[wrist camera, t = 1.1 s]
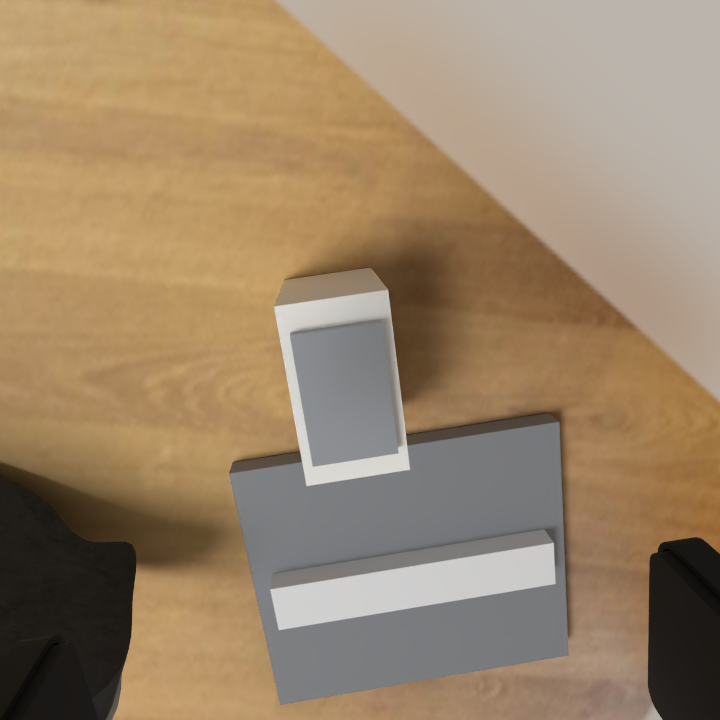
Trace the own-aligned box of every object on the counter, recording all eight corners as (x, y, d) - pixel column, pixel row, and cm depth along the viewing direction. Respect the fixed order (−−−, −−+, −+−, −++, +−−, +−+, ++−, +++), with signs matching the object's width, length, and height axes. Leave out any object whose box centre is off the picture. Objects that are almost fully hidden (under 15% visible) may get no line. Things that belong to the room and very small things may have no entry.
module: (283, 280, 26) (273, 309, 19) (370, 267, 26) (389, 292, 20) (308, 421, 28) (306, 492, 21) (389, 409, 28) (412, 475, 22)
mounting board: (232, 462, 28) (225, 486, 26) (549, 412, 29) (570, 431, 27) (281, 686, 32) (279, 724, 30) (559, 639, 33) (578, 672, 31)
